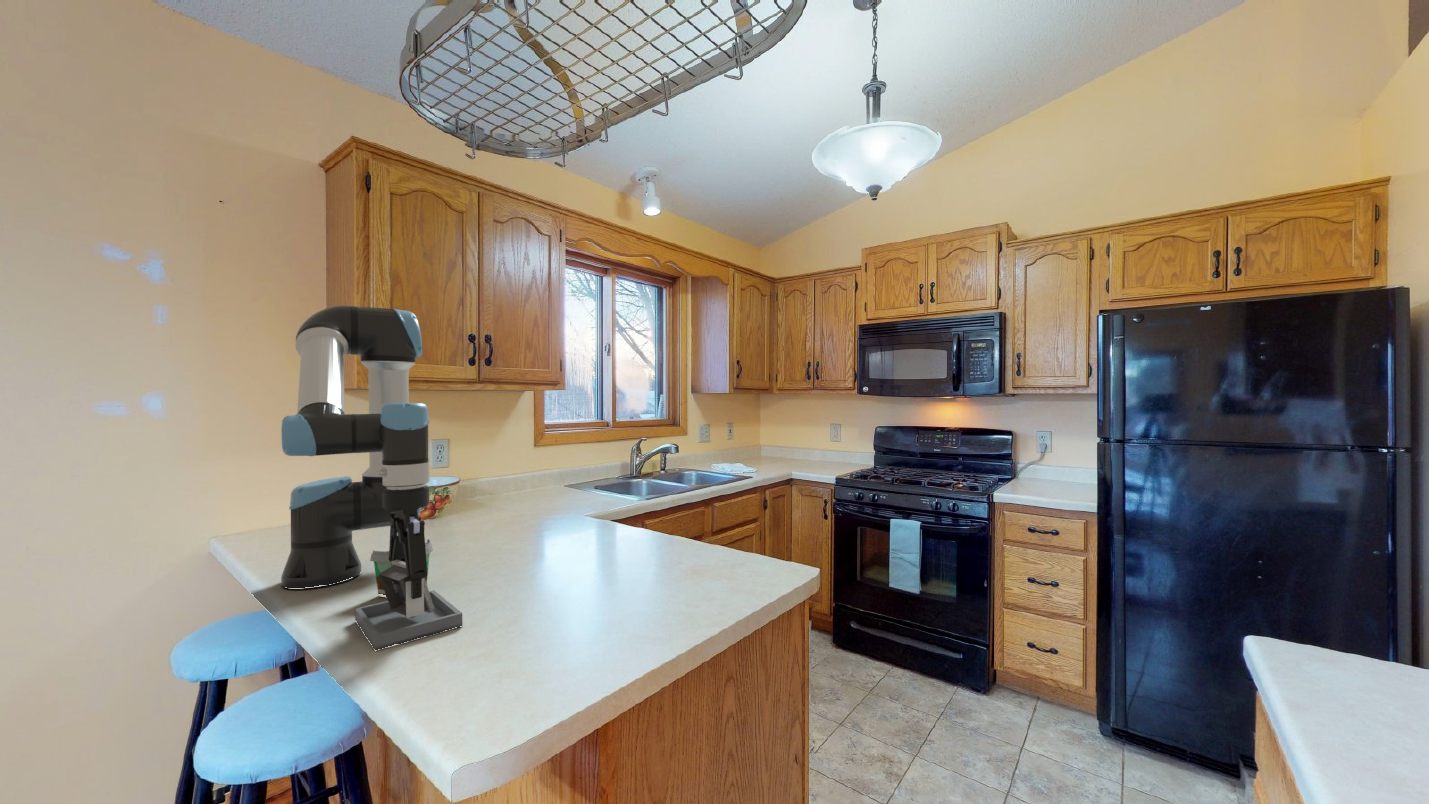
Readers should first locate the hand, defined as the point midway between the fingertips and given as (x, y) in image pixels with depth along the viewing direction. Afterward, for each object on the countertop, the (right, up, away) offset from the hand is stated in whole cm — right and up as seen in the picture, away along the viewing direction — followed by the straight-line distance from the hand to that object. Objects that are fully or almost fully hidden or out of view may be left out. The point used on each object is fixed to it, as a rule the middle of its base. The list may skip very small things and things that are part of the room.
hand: (407, 607), depth 98 cm
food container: (-10, -4, +17) cm, 20 cm away
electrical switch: (0, -1, 0) cm, 1 cm away
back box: (0, -3, 0) cm, 3 cm away
